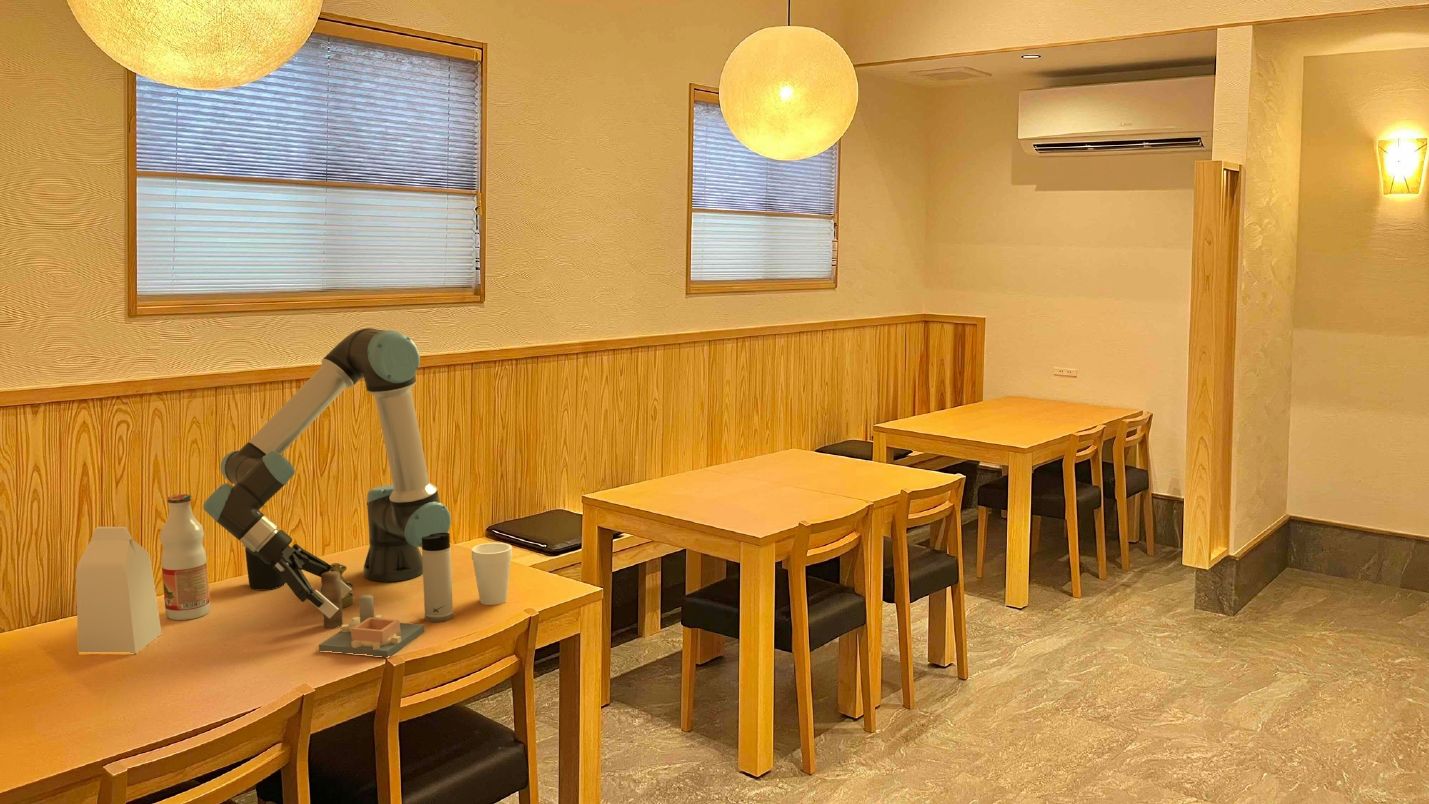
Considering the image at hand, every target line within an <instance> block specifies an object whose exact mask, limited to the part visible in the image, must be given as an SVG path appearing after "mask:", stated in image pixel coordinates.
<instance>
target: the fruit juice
mask: <svg viewBox="0 0 1429 804" xmlns="http://www.w3.org/2000/svg"><path fill="white" fill-rule="evenodd" d="M191 503H192V496H191V494H188V493H187V494H185V493H181V494H180V493H179V494H173V495H170V496H169V495H168V496H167V504H168V506H169V512H168V516H167V519H166V522H165V523H164V525H163V526H161V527H162V528H161V529H160V531H159V532H160V533H159V538H160V542H161V545H162V553H161V556H160V557H161V558H160V559H161V562H160V563H161V572H162V573H161V574H162V585H163V600H164V609H165V616H166V617H167V618H168V619H169V620H173V621H187V620H193V619H197V618H201V617H203V616H205V615H207V614H208V613H210V610H211V603H210V602H211V600H210V590H209V589H210V588H209V577H208V576H209V574H208V563H207V562H208V561H207V560H208V559H207V552H206V548H205V547H204V545H203V542H204V536H205V532H204V526H203V525H202V524H201V523H200V521H198V519H197V518H196V517H195V515H194V513H193V510H192V507H191Z"/></svg>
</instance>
